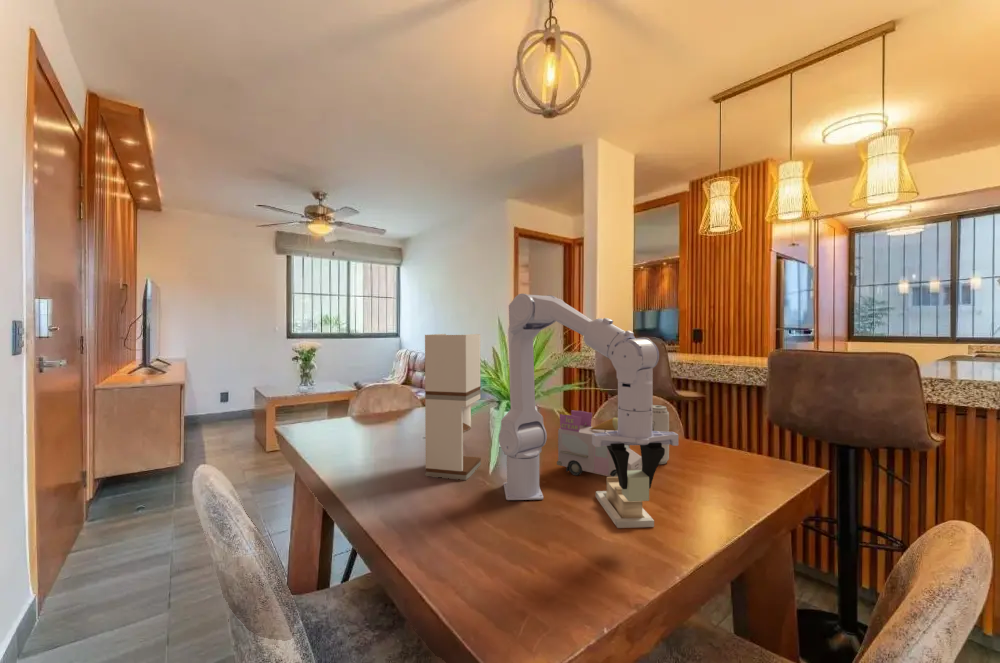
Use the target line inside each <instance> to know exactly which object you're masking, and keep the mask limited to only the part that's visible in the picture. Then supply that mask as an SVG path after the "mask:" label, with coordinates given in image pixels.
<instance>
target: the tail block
mask: <svg viewBox="0 0 1000 663" xmlns="http://www.w3.org/2000/svg"><path fill="white" fill-rule="evenodd" d="M627 481H628V483H627V489H622V494H623V495H624V496H625V498H626V499H627V500H628V501H642V502H649V501H650V489H649V477H648V476H647V475H646V474H645V473H644V472H643V471H642V470H628V471H627Z"/></svg>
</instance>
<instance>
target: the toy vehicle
mask: <svg viewBox="0 0 1000 663" xmlns="http://www.w3.org/2000/svg"><path fill="white" fill-rule="evenodd" d="M570 413H571V415H570V414H559V425H560V426H559V427H560V428H558V431H557V446H558V447H557V448H558V450H557V452H558V453H557V454H558V455H557V457H558V460H557V461H556V465H557V466H560V467H565V469H566V472H570V473H571V475H573V476H575V477H576V476H577V477H578V476H580V475H581V474H582V473H584V472H588V473H592V474H597V475H601V476H606V477H618V475H617V471H616V468H615V464H614V462H613V459H612V457H611V455H610V452H609V450H608V448H607V446H601V447H595V446H594V445H593V444H592V433H602V432H610V431H618V417H612V418H610V419H607V420H605V421H603V422H601V423H598V424H597V425H595V426H592V420H593V412H587V411H584V410H583V411H582V410H574V409H573V410H570ZM625 447H626V451H627V452H628V453H629V459H628V467H627V471H628V470H642V457H641V454H639V453H637V452H635V451H634V450H632V449H631V448H630V447H631V445H625Z"/></svg>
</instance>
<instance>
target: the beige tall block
mask: <svg viewBox="0 0 1000 663" xmlns="http://www.w3.org/2000/svg"><path fill="white" fill-rule="evenodd" d="M424 374H425V375H424V383H425V384H424V388H425V389H424V390H425V392H424V393H425V394H424V398H425V400H424V401H425V402H424V403H425V406H424V408H425V413H424V416H425V417H424V418H425V419H424V420H425V421H424V422H425V425H424V426H425V429H424V430H425V431H424V433H425V477H427V476H433V477H432V478H438V477H442V478H441V479H448V478H449V480H458V479H460V480H459V481H467V480H469V478H470V477H471V476H472V475H473V474H474V473H475V472H476V471H477V470H478V469H479V468H480V467H479V466H480V465H481V464H482V463H481V462H482V461H481V457H480V456H479V457H478V456H477V457H476V456H467V455H466V456H465V455H464V433H468V432H469V431H470V430H471V429H472V404H474V403H475V402H477V401H479V400H481V333H474V334H473V333H471V334H446V333H435V334H434V333H433V334H424ZM478 467H479V468H478ZM477 468H478V469H477ZM475 470H476V471H475Z"/></svg>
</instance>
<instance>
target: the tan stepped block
mask: <svg viewBox="0 0 1000 663" xmlns="http://www.w3.org/2000/svg"><path fill="white" fill-rule="evenodd" d="M605 481H606V483H605V484H606V490H605V491H606V498H607V500H608V501H609V502H610V504H611V505H612V506H613V508H614V509H615V510H616V512H617V513H618V514H619V516H620V517H621V518H642V508H643V501H628V500H627V499H626V498H625V496H624V495H623V494H622V488H621V486H620V485H619V480H618V477H611V476H606V480H605Z"/></svg>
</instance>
